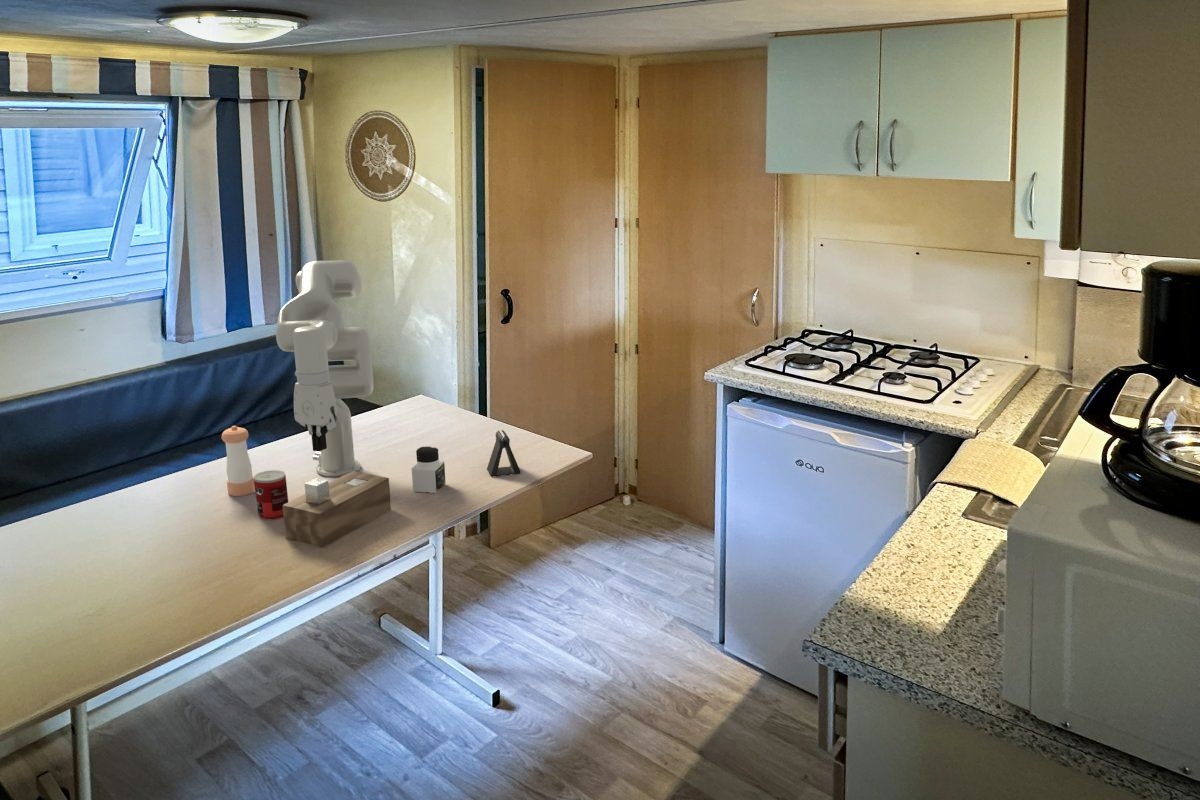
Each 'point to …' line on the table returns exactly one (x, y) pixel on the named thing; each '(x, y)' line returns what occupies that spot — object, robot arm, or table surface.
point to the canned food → (270, 493)
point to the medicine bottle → (428, 471)
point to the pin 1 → (317, 491)
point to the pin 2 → (356, 482)
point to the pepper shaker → (238, 462)
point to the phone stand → (496, 457)
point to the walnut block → (337, 510)
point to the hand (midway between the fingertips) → (319, 449)
